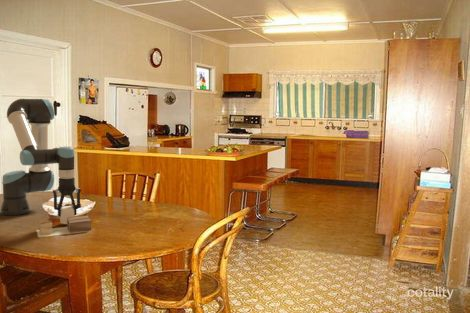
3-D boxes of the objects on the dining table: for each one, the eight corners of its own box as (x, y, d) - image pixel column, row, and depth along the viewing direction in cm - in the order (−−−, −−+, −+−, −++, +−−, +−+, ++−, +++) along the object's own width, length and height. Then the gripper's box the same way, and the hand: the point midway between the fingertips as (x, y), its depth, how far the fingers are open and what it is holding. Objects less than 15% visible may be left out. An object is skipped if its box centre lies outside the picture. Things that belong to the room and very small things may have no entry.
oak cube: (40, 231, 208) (39, 221, 207) (51, 230, 210) (51, 220, 209) (41, 234, 203) (40, 224, 203) (52, 233, 206) (52, 223, 205)
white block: (61, 221, 222) (61, 206, 221) (71, 220, 224) (71, 205, 223) (62, 224, 218) (62, 209, 216) (73, 223, 220) (73, 208, 219)
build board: (36, 231, 210) (36, 230, 210) (87, 226, 221) (87, 224, 221) (38, 238, 200) (38, 237, 199) (91, 232, 211) (91, 230, 211)
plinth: (67, 227, 216) (66, 217, 215) (87, 225, 220) (87, 215, 220) (69, 232, 207) (69, 222, 206) (91, 230, 212) (91, 220, 211)
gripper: (47, 179, 210) (49, 225, 213) (86, 177, 218) (86, 221, 222) (46, 177, 216) (47, 221, 220) (84, 175, 225) (84, 218, 228)
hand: (67, 221), depth 221 cm, fingers closed on white block, 5 cm apart
